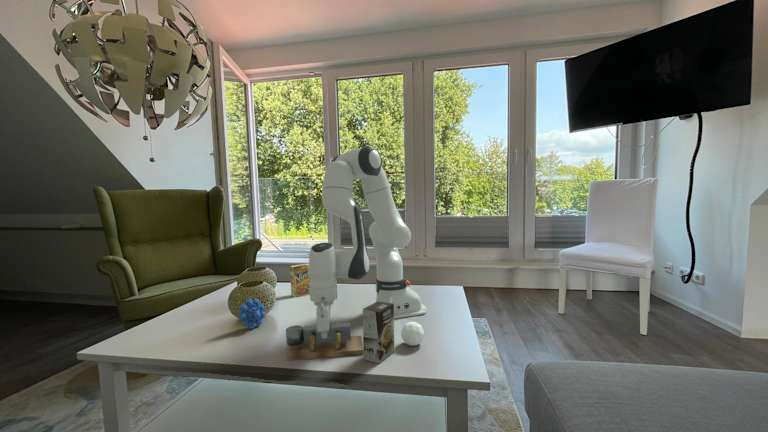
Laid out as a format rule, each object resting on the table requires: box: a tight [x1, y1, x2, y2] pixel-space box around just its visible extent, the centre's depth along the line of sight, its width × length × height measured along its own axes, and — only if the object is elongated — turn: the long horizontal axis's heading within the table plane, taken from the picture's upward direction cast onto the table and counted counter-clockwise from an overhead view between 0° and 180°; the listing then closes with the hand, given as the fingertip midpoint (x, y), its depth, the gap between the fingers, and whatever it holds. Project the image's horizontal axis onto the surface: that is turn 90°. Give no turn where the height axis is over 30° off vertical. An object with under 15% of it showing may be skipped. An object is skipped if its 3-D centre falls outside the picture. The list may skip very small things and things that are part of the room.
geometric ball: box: [400, 321, 425, 347], centre depth 119 cm, size 8×8×8 cm
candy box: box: [289, 263, 311, 298], centre depth 177 cm, size 9×4×15 cm, turn 126°
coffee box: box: [362, 301, 395, 364], centre depth 112 cm, size 9×6×16 cm
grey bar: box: [285, 322, 351, 346], centre depth 117 cm, size 21×6×4 cm, turn 97°
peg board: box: [285, 333, 363, 361], centre depth 117 cm, size 24×11×6 cm, turn 97°
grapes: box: [238, 298, 266, 330], centre depth 135 cm, size 12×7×12 cm, turn 148°
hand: (325, 334), depth 117 cm, fingers closed on grey bar, 3 cm apart
